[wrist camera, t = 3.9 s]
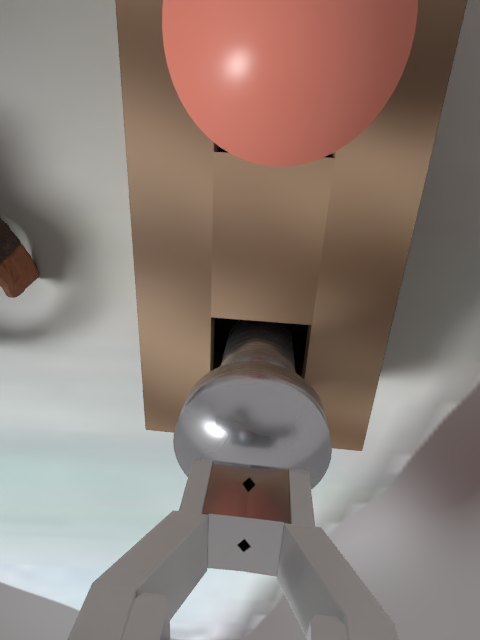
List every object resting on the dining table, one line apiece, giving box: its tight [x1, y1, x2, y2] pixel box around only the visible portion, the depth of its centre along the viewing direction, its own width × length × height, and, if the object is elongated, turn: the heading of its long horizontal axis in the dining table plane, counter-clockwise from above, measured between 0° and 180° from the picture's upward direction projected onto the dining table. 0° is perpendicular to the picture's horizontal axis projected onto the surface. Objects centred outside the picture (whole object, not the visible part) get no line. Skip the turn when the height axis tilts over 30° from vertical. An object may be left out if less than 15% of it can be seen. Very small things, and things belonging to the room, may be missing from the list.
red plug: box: [162, 0, 418, 167], centre depth 10 cm, size 5×5×7 cm
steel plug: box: [173, 320, 332, 489], centre depth 14 cm, size 5×5×7 cm
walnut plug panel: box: [116, 0, 467, 451], centre depth 16 cm, size 18×10×6 cm, turn 177°
